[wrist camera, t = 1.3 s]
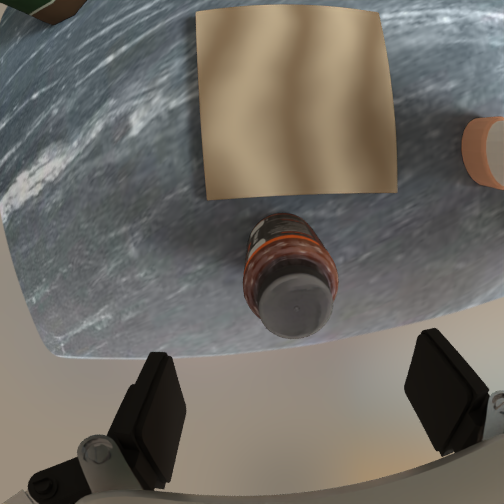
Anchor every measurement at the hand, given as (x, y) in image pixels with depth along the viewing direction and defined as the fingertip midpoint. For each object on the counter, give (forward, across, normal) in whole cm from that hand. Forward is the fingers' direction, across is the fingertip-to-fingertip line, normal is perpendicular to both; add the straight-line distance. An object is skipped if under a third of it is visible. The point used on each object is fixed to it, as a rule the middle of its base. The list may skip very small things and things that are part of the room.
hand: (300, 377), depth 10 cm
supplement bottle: (+17, -1, 0) cm, 17 cm away
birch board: (+17, -3, -13) cm, 21 cm away
